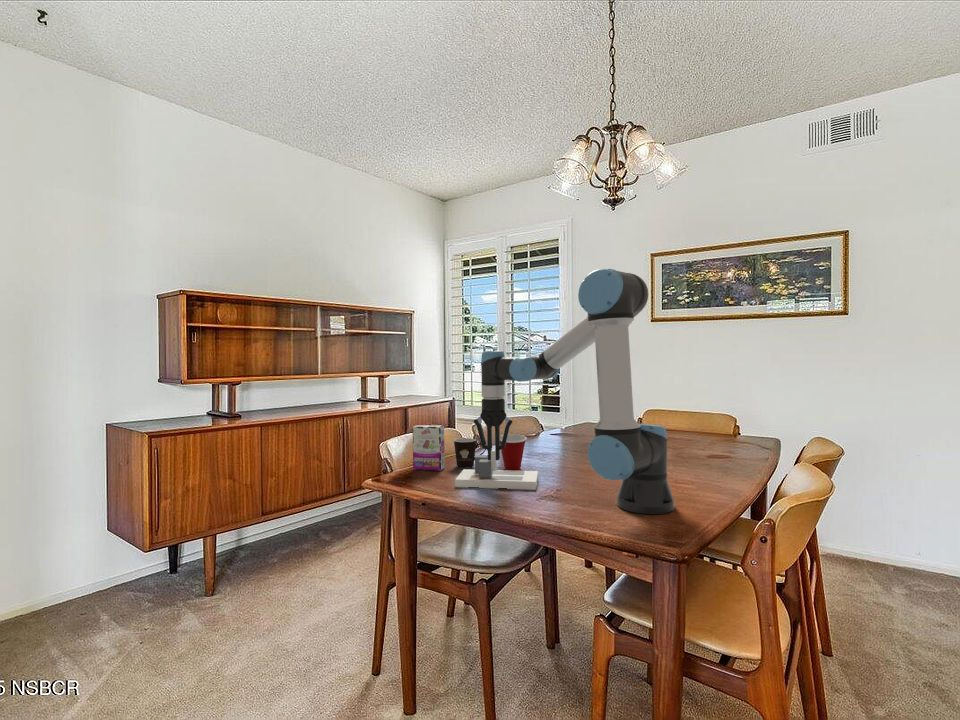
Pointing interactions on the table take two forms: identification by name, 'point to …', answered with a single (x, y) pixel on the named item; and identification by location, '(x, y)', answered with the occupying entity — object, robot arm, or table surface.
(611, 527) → the table surface
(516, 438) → the plastic cup
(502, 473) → the switch panel
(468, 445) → the coffee mug
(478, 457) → the switch tab far
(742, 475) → the table surface
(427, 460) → the candy bar box
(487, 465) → the switch tab near
